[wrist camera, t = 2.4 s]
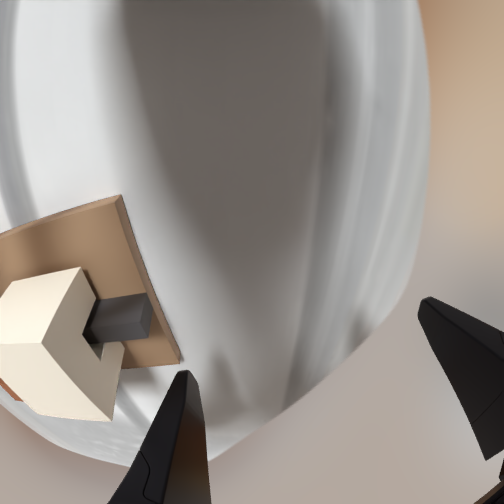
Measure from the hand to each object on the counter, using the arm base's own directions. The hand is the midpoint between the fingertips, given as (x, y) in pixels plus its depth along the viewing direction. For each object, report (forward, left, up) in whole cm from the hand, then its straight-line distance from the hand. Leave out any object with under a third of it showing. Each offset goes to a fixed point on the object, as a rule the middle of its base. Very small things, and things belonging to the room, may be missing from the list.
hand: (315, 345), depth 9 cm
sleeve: (+12, 0, -4) cm, 12 cm away
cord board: (+17, 0, -5) cm, 18 cm away
